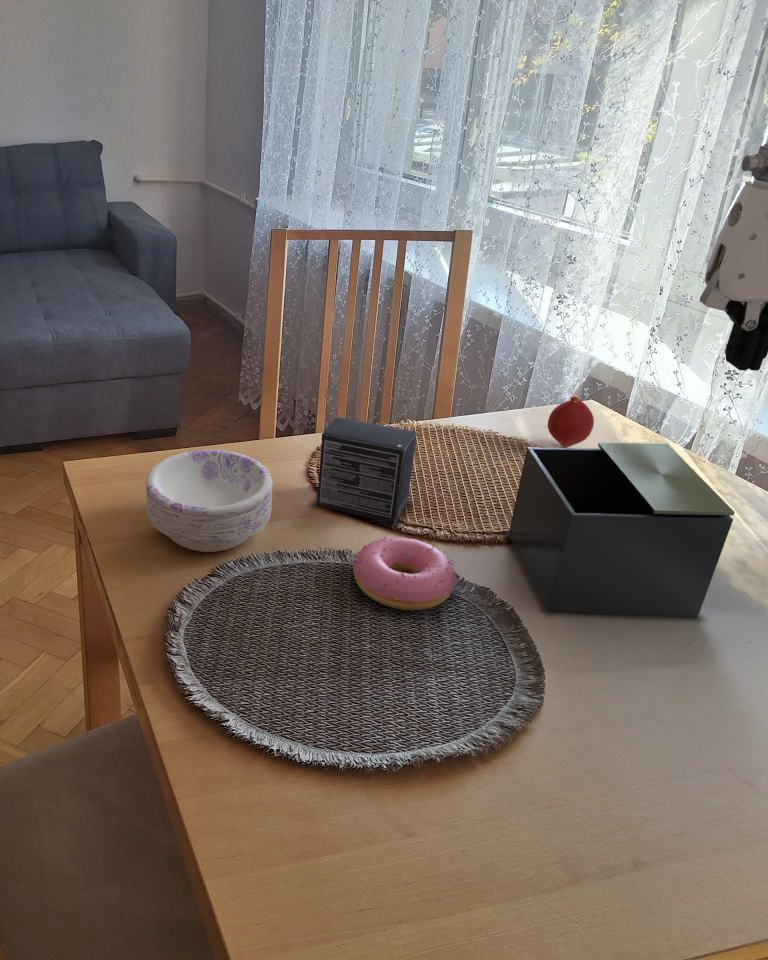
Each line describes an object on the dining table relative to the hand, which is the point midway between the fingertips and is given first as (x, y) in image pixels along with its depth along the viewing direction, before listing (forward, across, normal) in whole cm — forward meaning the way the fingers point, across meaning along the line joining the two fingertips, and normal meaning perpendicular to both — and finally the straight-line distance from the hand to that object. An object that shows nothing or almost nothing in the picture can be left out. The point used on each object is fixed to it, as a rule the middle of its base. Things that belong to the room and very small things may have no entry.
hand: (741, 365), depth 84 cm
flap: (+13, -4, 0) cm, 13 cm away
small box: (+25, -32, +14) cm, 43 cm away
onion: (+25, -1, +32) cm, 41 cm away
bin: (+25, -8, 0) cm, 26 cm away
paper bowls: (+25, -52, +6) cm, 58 cm away
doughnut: (+25, -30, -4) cm, 39 cm away
